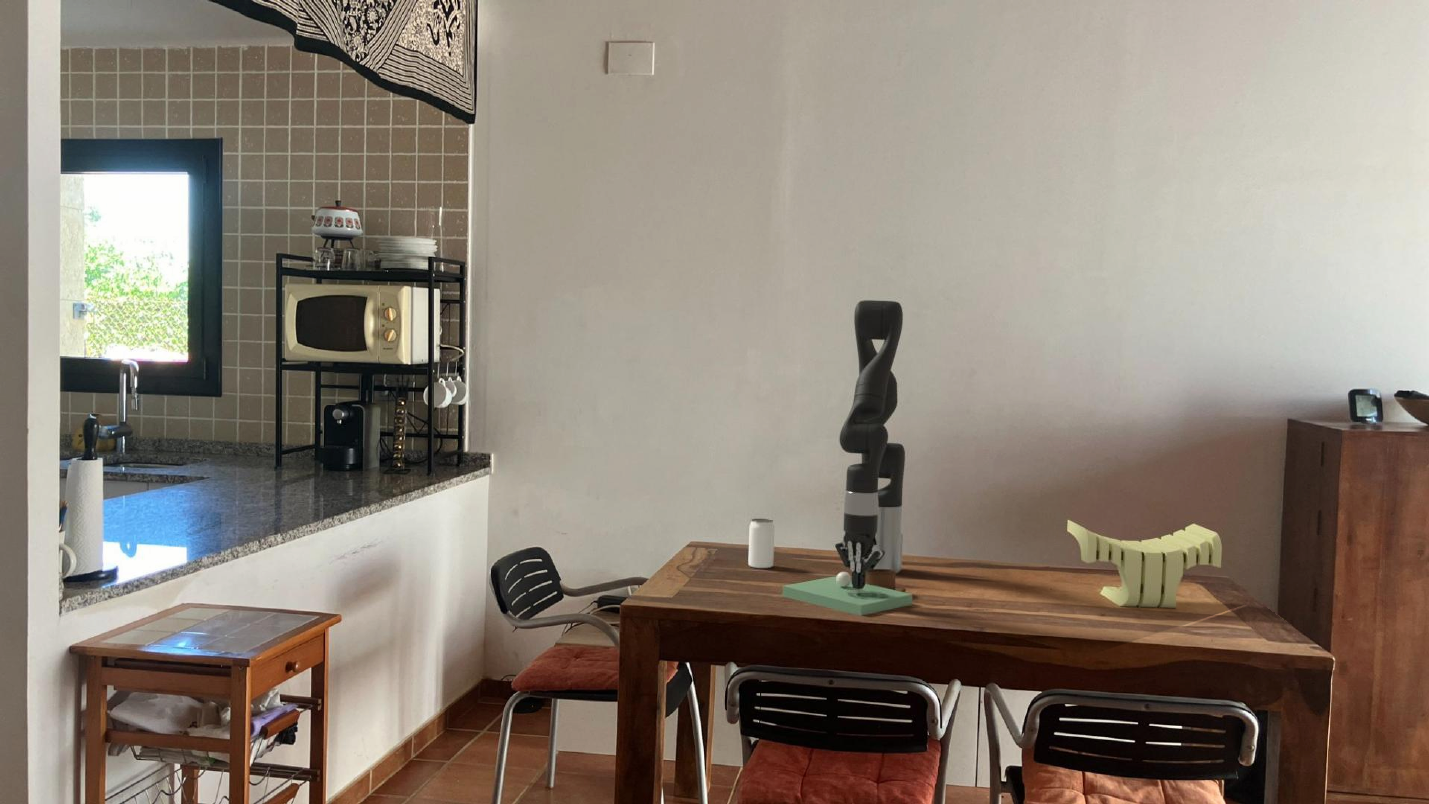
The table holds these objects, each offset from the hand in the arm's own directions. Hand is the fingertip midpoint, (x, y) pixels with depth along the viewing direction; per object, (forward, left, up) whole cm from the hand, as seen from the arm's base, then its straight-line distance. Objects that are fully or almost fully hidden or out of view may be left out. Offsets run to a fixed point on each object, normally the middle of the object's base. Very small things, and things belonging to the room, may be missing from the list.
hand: (858, 588), depth 250 cm
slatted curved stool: (-56, +38, -4) cm, 68 cm away
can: (-12, -42, -4) cm, 44 cm away
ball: (-2, -6, +1) cm, 6 cm away
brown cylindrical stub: (-12, -3, -5) cm, 14 cm away
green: (0, -3, -4) cm, 5 cm away
